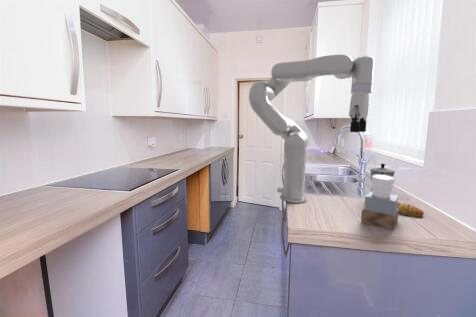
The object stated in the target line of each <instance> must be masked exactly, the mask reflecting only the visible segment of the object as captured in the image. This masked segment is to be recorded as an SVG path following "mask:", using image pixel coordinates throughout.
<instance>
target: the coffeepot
mask: <svg viewBox="0 0 476 317" xmlns="http://www.w3.org/2000/svg"><path fill="white" fill-rule="evenodd" d="M385 165H386V164H385V163H380V167H374V168H370V180H371V182H370V183H372V175H375V174H383V175H389V176H392V177H394V175H395V172H396V171H394V170H393V169H390V168H386V167H385ZM370 191H372V187H370Z"/></svg>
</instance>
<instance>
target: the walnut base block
mask: <svg viewBox="0 0 476 317" xmlns="http://www.w3.org/2000/svg"><path fill="white" fill-rule="evenodd" d="M364 208H365V206H364V207H363V208H362V210H361V221H360V223H362V224H366V225H369V226H370V225H371V226H375V227H379V228H383V229H387V230H391V231H394V230H395V228H396V226H397V223H398V219H399V213H398V212H399V209H398V208H397V210H396V212H395V215H394V216H392V215H387V214H382V213H377V212H372V211H367V210H364Z"/></svg>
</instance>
